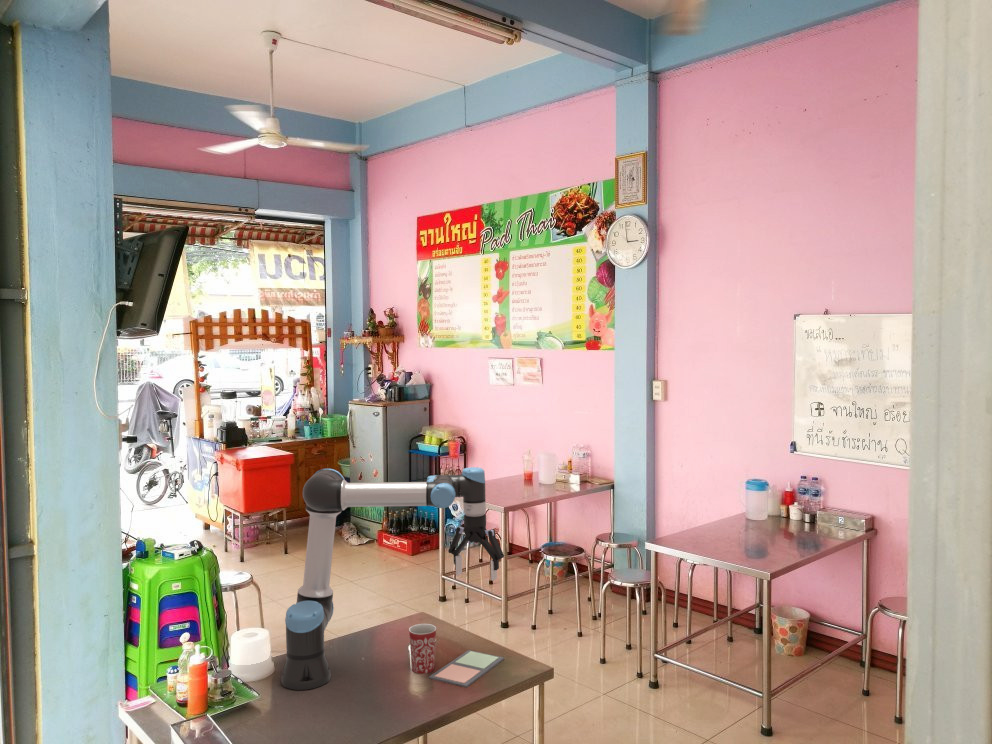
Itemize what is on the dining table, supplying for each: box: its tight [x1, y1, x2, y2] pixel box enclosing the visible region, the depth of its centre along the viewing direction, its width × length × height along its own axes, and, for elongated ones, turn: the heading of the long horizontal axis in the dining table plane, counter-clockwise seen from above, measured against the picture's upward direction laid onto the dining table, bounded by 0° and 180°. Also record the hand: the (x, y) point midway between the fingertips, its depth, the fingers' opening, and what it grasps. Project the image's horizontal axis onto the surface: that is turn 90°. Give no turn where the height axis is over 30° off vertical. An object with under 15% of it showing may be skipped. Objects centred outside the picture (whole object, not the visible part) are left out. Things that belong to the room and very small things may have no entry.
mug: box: [408, 623, 437, 675], centre depth 252 cm, size 13×9×14 cm
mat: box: [428, 649, 505, 689], centre depth 250 cm, size 14×24×1 cm, turn 151°
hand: (476, 576), depth 258 cm, fingers open, 13 cm apart
